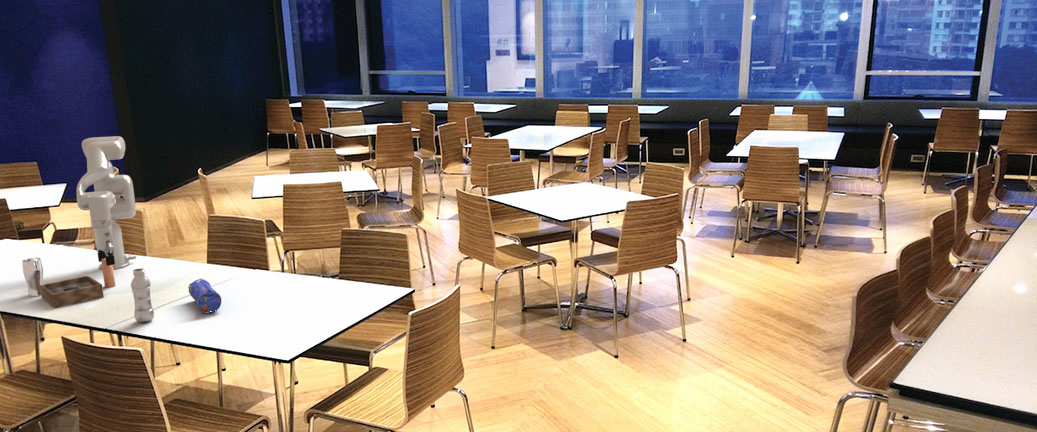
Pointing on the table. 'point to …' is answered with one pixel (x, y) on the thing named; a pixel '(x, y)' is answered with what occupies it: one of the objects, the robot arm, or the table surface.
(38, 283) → the beer glass
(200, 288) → the pencil case
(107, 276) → the peg
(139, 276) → the plastic bottle
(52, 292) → the bore box
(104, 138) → the robot arm
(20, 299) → the table surface
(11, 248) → the table surface
